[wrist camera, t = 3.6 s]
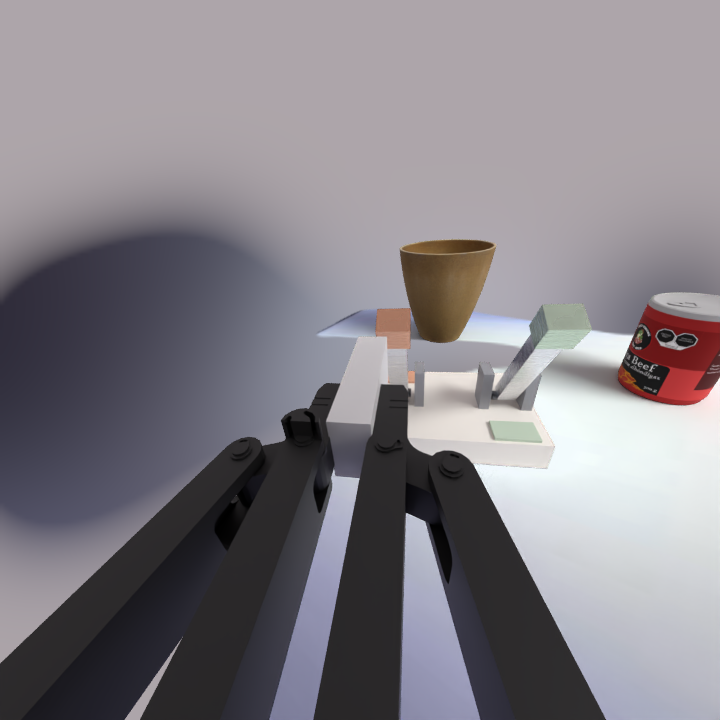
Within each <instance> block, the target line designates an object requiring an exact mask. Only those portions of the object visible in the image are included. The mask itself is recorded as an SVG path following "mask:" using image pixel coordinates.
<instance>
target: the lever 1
mask: <svg viewBox="0 0 720 720" xmlns="http://www.w3.org/2000/svg"><path fill="white" fill-rule="evenodd" d="M375 332H376V337H387V357H388V376H389V382H390V384H391V385H404V386H405V388H406V389H407V391H408V397H411V388H408V358H407V349H410V334H411V316H410V308H401V309H377V319H376V331H375Z"/></svg>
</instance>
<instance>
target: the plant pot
mask: <svg viewBox="0 0 720 720" xmlns="http://www.w3.org/2000/svg"><path fill="white" fill-rule="evenodd" d="M495 248H496V244H495V243H492V242H488V241H481V240H463V239H462V240H460V239H451V240H434V241H424V242H418V243H413V244H408V245H404V246H402V247H401V248H400V256H401V264H402V271H403V277H404V282H405V287H406V292H407V296H408V300H409V304H410V308H411V311H412V315H413V318H414V321H415V324H416V326H417V329H418V332H419V334H420V336H421V337H422V338H423V339H425V340H427V341H430V342H436V343H446V342H452V341H455V340H456V339H458V338H459V336H460V335H461V333H462V331H463V329H464V328H465V326H466V324H467V322H468V320H469V318H470V316H471V314H472V312H473V310H474V308H475V305H476V303H477V301H478V298H479V296H480V294H481V291H482V289H483V286H484V283H485V280H486V277H487V274H488V271H489V268H490V265H491V262H492V259H493V255H494V252H495Z"/></svg>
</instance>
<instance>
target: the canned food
mask: <svg viewBox="0 0 720 720" xmlns="http://www.w3.org/2000/svg"><path fill="white" fill-rule="evenodd" d="M719 378H720V296H716V295H708V294H699V293H663V294H658V295H655V296H653V297H652V298H651V300H650V301H649V302H648V304H647V307H646V309H645V311H644V313H643V315H642V318H641V320H640V322H639V324H638V327H637V329H636V331H635V334H634V336H633V338H632V341H631V343H630V345H629V348H628V350H627V352H626V355H625V357H624V359H623V362H622V364H621V366H620V369H619V371H618V380H619V382H620V383H621V384H622V385H623V386H624V387H625V388H626V389H628V390H629V391H631V392H633V393H635V394H637V395H639V396H642V397H644V398H647V399H650V400H653V401H657V402H661V403H667V404H674V405H690V404H695V403H698V402H699V401H701V400H702V399H704V398H705V397H707V396H708V394H709V393H710V391H711V390H712V388H713V387H714V385H715V384H716V382H717V381H718V379H719Z"/></svg>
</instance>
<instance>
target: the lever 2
mask: <svg viewBox="0 0 720 720" xmlns="http://www.w3.org/2000/svg"><path fill="white" fill-rule="evenodd" d="M529 327H530V332H531V335H530V336H529V338H528V339H527V340H526V342H525V343H524V345H523V346H522V348H521V349H520V351H519V352H518V354H517V355H516V357H515V358H514V360H513V361H512V363H511V364H510V366H509V367H508V369H507V370H506V372H505V373H504V374H503V376H502V377H501V379H500V380H499V382H498V383H497V385H496V386H495V391H492V393H491V400H517V397H518V396H519V395H520V394H521V393H522V392H523V391H524V390H525V389H526V388H527V387H528V386H529V385H530V384H531V383H532V382H533V380H534V379H535V378H536V377H537V376H538V375H539V374H540V373H541V372H542V371H543V370H544V369H545V368H546V367H547V366H548V365H549V363H550V362H551V361H552V360H553V359H554V358H555V357H556V356H557V355H558V354H559V353H560V352H561V351H562V350H563V349H573V348H574V347H575V346H576V345H577V344H578V343H579V342H580V341H581V340H582V339H583V338H584V337H585V336H586V335H587V334H588V333H589V332H590V331H591V330H592V328H591V325H590V322H589V319H588V316H587V313H586V310H585V307H584V305H583V304H557V305H556V304H555V305H554V304H553V305H542V306H541V308H540V309H539V311H538V312H537V314H536V315H535V317H534V319H533V320H532V322H531V323H530V325H529Z"/></svg>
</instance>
